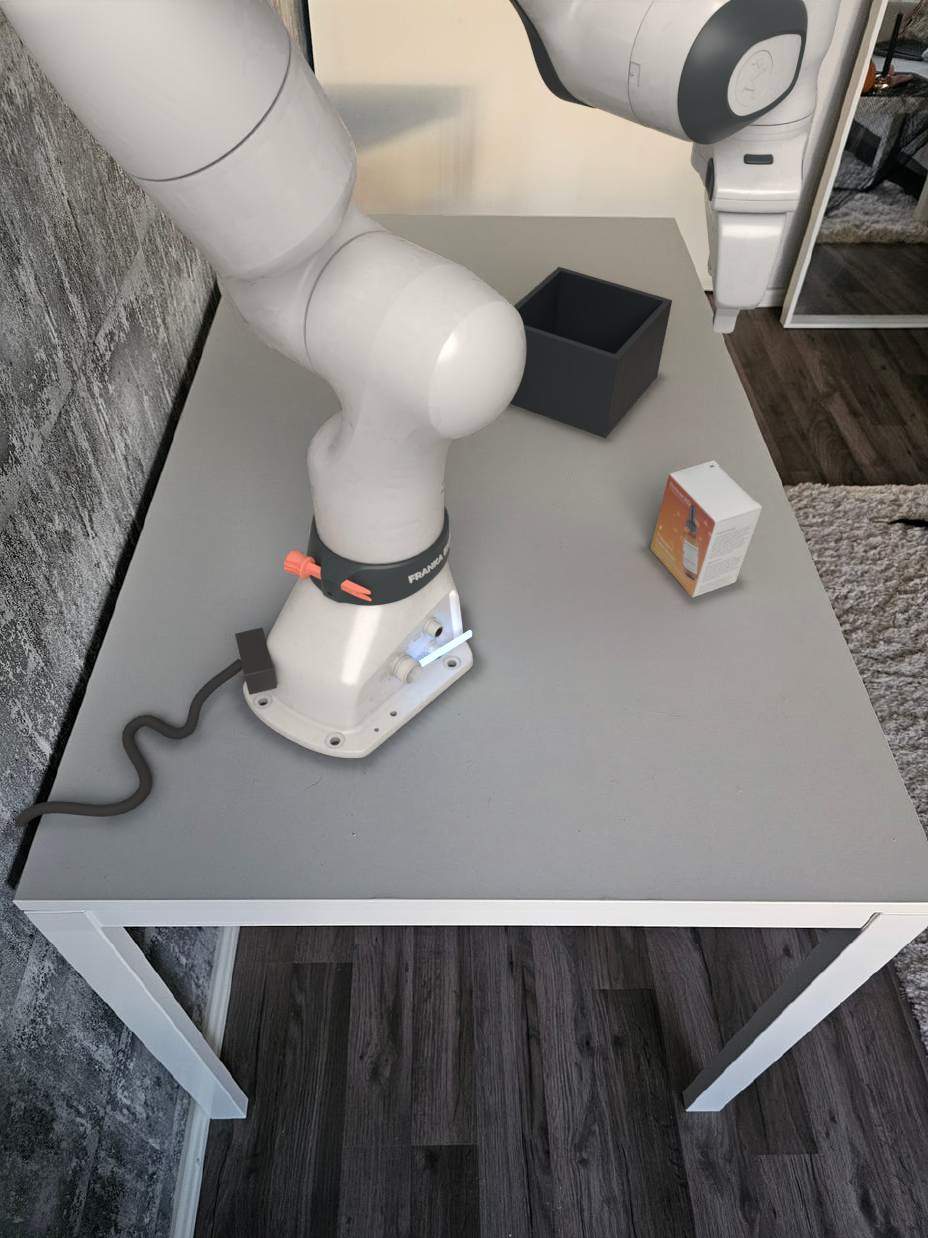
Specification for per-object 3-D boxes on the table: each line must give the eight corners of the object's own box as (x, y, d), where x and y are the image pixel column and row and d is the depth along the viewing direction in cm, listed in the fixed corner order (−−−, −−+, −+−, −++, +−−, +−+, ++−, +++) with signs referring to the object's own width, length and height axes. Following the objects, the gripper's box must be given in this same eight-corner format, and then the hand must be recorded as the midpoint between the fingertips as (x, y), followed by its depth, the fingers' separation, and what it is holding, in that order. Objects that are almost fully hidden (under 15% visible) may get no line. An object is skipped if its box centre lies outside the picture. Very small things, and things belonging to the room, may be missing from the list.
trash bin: (605, 438, 110) (618, 359, 102) (494, 397, 115) (497, 319, 107) (657, 376, 119) (672, 299, 111) (551, 342, 124) (558, 266, 116)
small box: (648, 550, 97) (666, 471, 89) (692, 535, 98) (714, 457, 90) (691, 600, 92) (714, 522, 84) (737, 583, 93) (764, 506, 86)
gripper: (703, 89, 79) (681, 241, 90) (715, 200, 66) (687, 362, 77) (777, 90, 79) (746, 243, 89) (804, 201, 66) (764, 365, 76)
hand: (719, 299), depth 83 cm, fingers open, 8 cm apart
